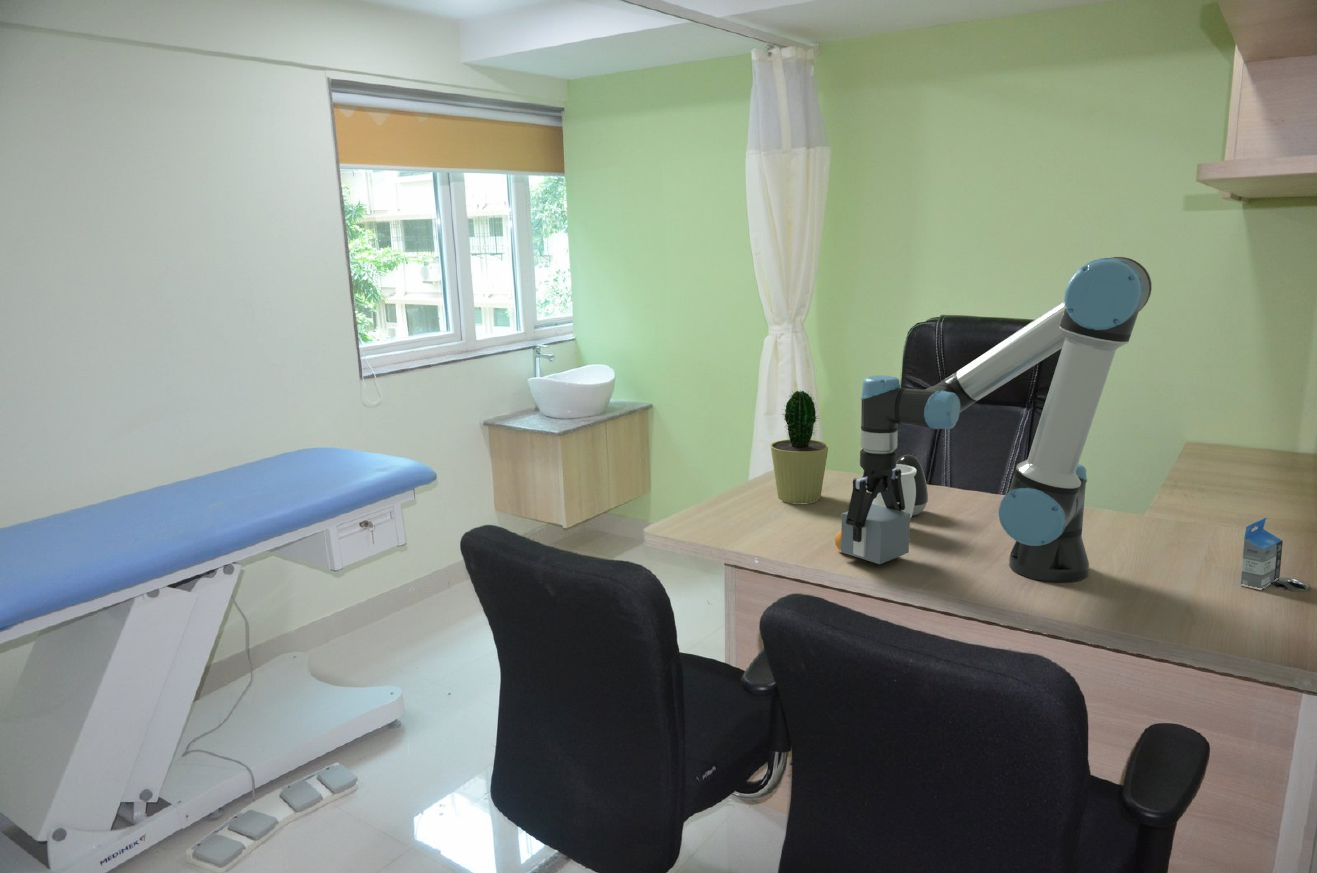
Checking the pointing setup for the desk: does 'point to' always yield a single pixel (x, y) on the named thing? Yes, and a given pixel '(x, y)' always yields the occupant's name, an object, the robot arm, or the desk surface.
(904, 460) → the dark gray tall dome
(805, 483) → the potted cactus
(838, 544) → the ball
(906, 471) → the jar
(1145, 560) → the desk surface
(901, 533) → the slate gray cube
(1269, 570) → the label tape box
